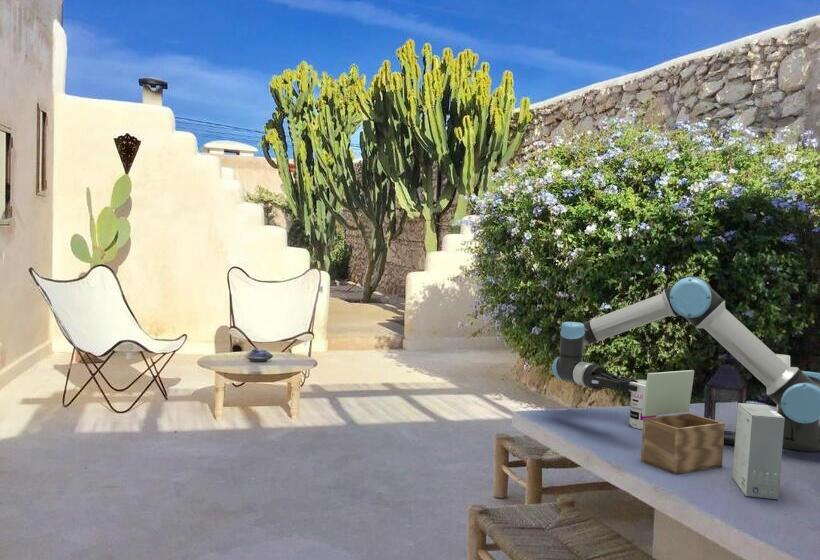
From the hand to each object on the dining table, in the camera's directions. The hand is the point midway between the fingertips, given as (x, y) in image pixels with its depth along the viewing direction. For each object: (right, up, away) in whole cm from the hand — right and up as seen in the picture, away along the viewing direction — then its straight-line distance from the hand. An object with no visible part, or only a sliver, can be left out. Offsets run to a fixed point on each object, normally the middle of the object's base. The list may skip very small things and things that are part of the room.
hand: (647, 390), depth 215 cm
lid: (+4, 0, -7) cm, 8 cm away
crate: (+6, -18, -11) cm, 22 cm away
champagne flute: (+57, -18, +39) cm, 71 cm away
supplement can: (+8, -16, +29) cm, 34 cm away
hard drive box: (+17, -20, -29) cm, 39 cm away
